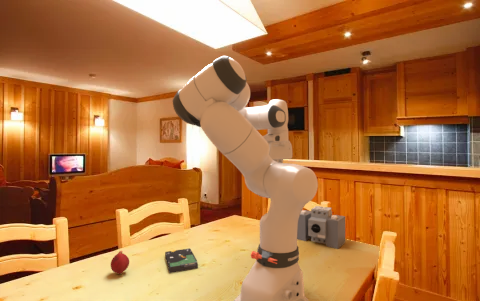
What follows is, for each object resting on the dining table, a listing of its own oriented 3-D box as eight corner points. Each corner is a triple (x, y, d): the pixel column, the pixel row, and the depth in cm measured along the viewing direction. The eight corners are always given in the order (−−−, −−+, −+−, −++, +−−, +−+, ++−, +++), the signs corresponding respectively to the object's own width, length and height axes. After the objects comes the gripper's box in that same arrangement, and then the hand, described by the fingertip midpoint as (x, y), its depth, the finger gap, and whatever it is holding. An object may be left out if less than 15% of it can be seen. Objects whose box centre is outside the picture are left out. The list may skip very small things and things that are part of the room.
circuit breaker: (307, 245, 116) (307, 211, 116) (316, 236, 128) (316, 205, 128) (324, 248, 112) (324, 214, 112) (332, 239, 124) (331, 207, 124)
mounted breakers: (337, 248, 111) (337, 218, 111) (295, 238, 124) (295, 211, 124) (345, 242, 119) (345, 213, 119) (304, 233, 132) (304, 207, 132)
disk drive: (164, 258, 104) (169, 274, 90) (164, 251, 104) (169, 266, 90) (190, 254, 108) (198, 269, 94) (190, 247, 108) (198, 261, 94)
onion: (117, 279, 86) (117, 255, 86) (107, 275, 88) (106, 252, 88) (132, 272, 91) (132, 249, 91) (122, 268, 94) (121, 246, 93)
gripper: (283, 138, 122) (283, 168, 122) (258, 137, 106) (258, 171, 106) (295, 138, 118) (295, 168, 118) (271, 136, 102) (271, 172, 102)
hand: (278, 170), depth 112 cm, fingers closed
